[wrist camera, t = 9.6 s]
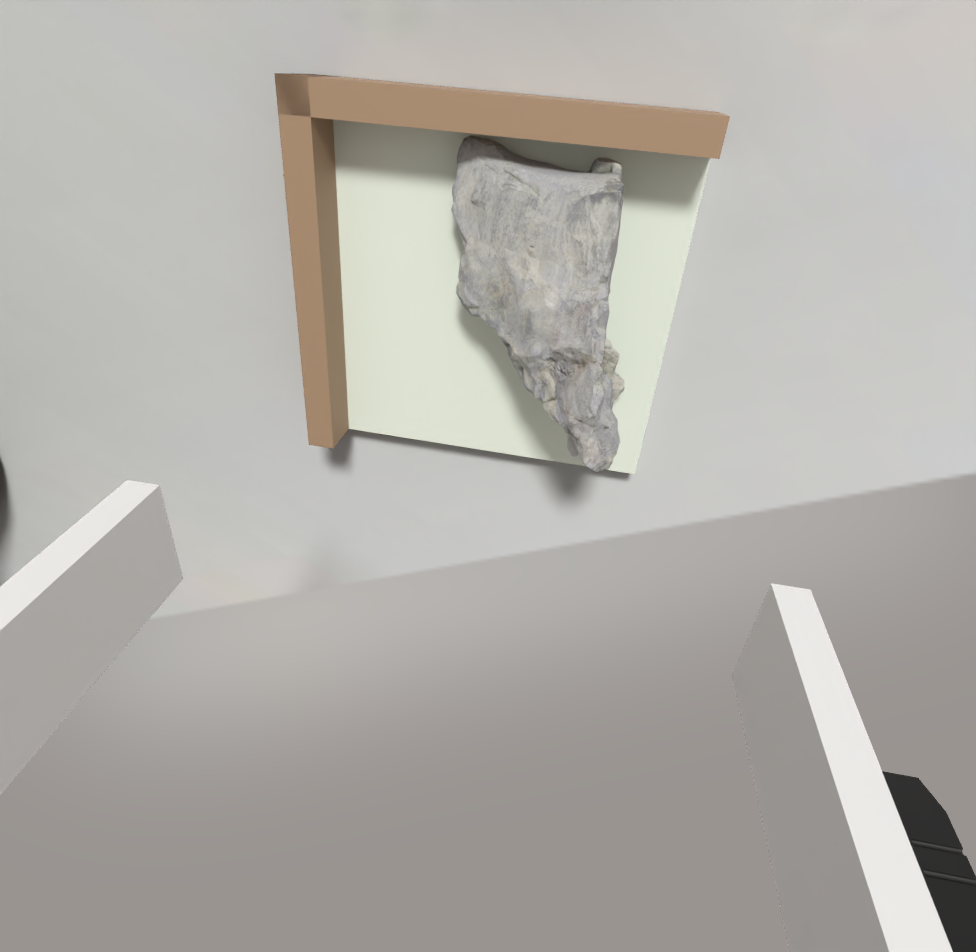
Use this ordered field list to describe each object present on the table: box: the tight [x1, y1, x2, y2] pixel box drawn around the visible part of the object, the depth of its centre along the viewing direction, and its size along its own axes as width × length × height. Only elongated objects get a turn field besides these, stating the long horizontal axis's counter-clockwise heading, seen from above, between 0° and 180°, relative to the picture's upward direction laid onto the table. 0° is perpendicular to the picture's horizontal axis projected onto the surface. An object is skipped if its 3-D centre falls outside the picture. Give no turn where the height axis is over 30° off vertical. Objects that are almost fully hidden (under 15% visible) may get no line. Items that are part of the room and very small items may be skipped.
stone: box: [451, 135, 625, 473], centre depth 24 cm, size 6×12×4 cm, turn 6°
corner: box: [275, 74, 730, 474], centre depth 26 cm, size 15×15×3 cm
